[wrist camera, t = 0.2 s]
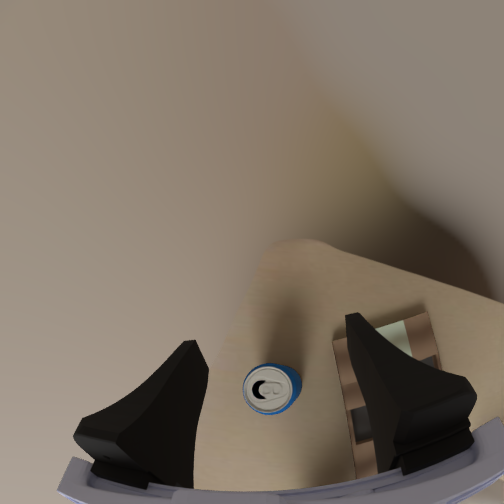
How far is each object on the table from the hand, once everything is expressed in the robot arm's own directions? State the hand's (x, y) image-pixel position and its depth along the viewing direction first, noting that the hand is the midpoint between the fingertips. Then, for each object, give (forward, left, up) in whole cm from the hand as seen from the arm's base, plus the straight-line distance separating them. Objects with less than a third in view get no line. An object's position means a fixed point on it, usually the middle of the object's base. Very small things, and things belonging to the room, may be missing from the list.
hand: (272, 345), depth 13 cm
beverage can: (-2, +4, -32) cm, 32 cm away
